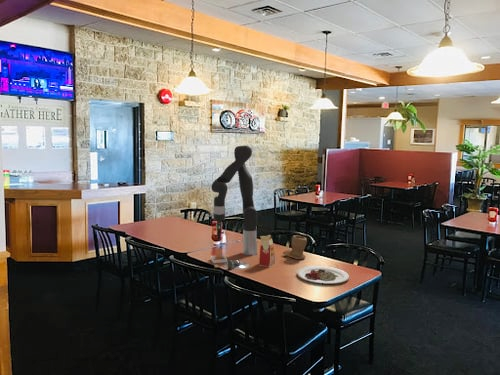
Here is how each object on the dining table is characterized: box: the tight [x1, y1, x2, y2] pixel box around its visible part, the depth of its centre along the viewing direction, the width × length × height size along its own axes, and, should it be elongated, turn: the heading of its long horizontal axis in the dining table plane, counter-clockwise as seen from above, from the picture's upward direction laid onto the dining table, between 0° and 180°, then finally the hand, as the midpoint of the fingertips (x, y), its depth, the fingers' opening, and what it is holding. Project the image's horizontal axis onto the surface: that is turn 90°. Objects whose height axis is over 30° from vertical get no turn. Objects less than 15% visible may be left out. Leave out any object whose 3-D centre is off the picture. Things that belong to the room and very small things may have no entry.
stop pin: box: [215, 247, 223, 260], centre depth 266 cm, size 4×4×8 cm
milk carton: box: [258, 234, 277, 269], centre depth 259 cm, size 9×9×20 cm
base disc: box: [213, 261, 250, 270], centre depth 256 cm, size 22×16×2 cm
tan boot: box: [282, 234, 308, 260], centre depth 278 cm, size 15×12×15 cm
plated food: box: [296, 265, 350, 285], centre depth 240 cm, size 30×30×3 cm
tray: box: [210, 254, 228, 264], centre depth 266 cm, size 9×9×2 cm
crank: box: [227, 259, 241, 271], centre depth 253 cm, size 13×4×5 cm, turn 155°
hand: (219, 238), depth 264 cm, fingers open, 3 cm apart
